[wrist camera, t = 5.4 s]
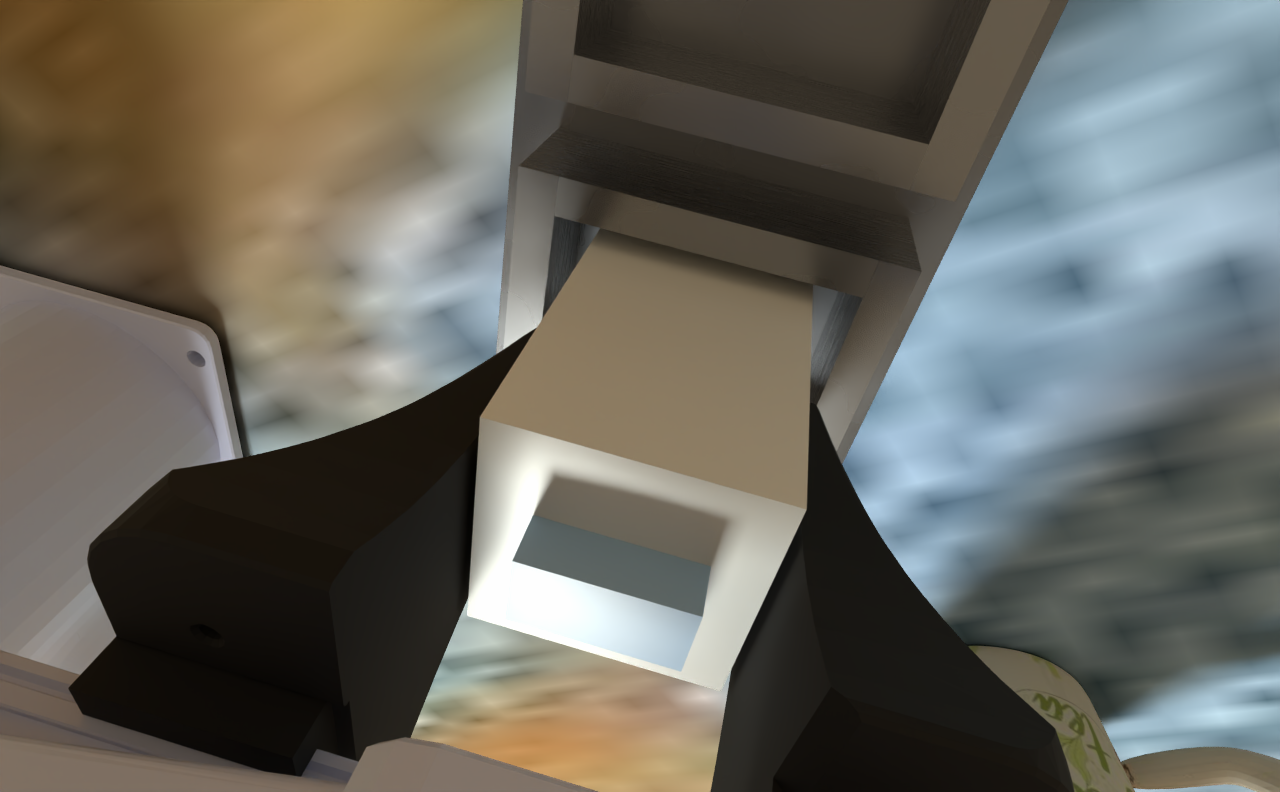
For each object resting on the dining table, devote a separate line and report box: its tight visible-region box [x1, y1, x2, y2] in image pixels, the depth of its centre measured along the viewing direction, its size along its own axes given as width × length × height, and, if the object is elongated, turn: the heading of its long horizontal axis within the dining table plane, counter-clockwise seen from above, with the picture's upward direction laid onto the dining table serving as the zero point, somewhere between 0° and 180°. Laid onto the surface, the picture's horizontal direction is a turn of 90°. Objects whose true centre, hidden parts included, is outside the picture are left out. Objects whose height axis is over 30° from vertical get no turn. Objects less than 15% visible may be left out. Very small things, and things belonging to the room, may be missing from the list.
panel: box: [496, 0, 1068, 463], centre depth 13 cm, size 15×9×3 cm, turn 169°
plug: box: [467, 228, 813, 691], centre depth 12 cm, size 4×4×8 cm
